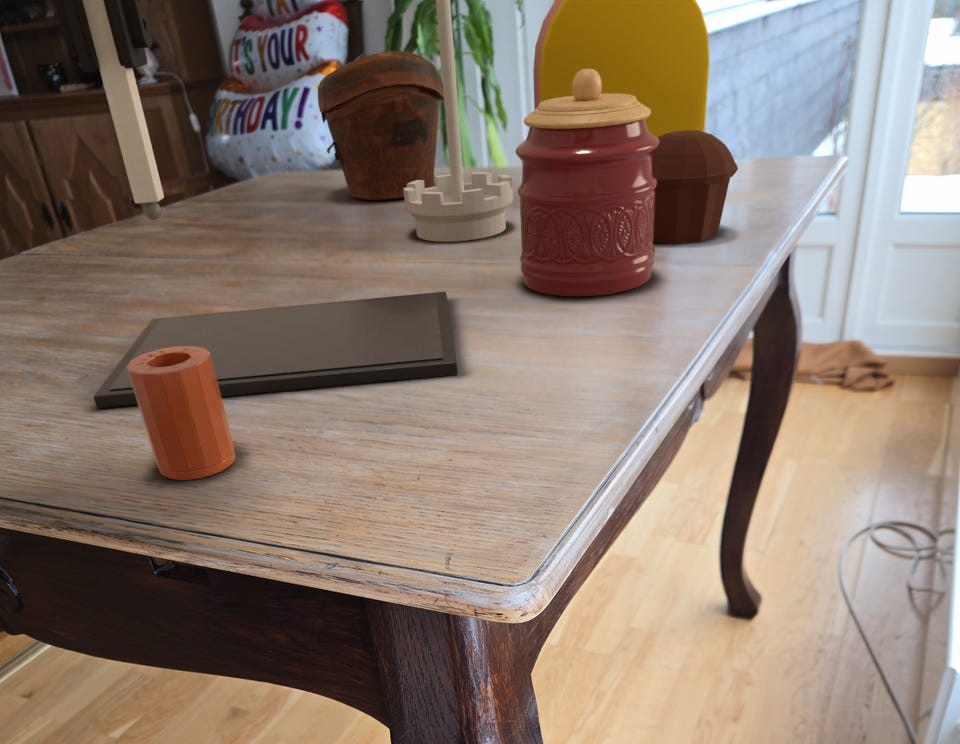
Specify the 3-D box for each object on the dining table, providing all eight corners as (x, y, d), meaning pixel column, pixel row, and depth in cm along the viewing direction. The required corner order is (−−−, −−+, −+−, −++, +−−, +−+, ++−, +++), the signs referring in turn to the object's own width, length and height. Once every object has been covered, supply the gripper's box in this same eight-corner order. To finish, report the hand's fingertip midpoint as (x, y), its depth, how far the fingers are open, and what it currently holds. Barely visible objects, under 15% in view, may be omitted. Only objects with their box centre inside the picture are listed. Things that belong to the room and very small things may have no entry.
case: (381, 178, 144) (365, 46, 134) (479, 184, 134) (470, 40, 123) (301, 201, 133) (276, 58, 123) (401, 209, 123) (384, 54, 112)
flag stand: (510, 240, 103) (494, -93, 86) (400, 246, 105) (362, -80, 87) (517, 216, 114) (504, -86, 96) (417, 221, 115) (386, -74, 98)
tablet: (97, 409, 69) (92, 395, 68) (154, 329, 85) (151, 317, 84) (457, 374, 69) (456, 360, 68) (447, 301, 85) (446, 290, 85)
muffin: (606, 237, 101) (607, 137, 95) (671, 218, 107) (676, 123, 101) (688, 252, 94) (695, 144, 88) (753, 230, 99) (764, 128, 93)
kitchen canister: (619, 304, 81) (624, 75, 70) (496, 292, 87) (484, 79, 76) (674, 267, 89) (685, 58, 79) (559, 258, 95) (556, 63, 85)
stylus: (139, 222, 52) (64, -62, 44) (145, 218, 53) (73, -60, 45) (163, 220, 52) (92, -64, 44) (169, 216, 53) (101, -62, 45)
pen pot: (151, 483, 57) (117, 377, 53) (168, 450, 61) (137, 349, 57) (229, 476, 57) (201, 369, 53) (240, 443, 61) (215, 342, 57)
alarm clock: (685, 180, 125) (699, -58, 109) (702, 192, 117) (719, -61, 102) (536, 193, 125) (529, -43, 109) (543, 206, 117) (536, -45, 102)
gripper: (-264, -482, 34) (-59, 86, 45) (146, -512, 34) (250, 61, 45) (-162, -411, 40) (-3, 74, 51) (186, -437, 40) (270, 52, 51)
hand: (115, 65), depth 48 cm, fingers closed on stylus
